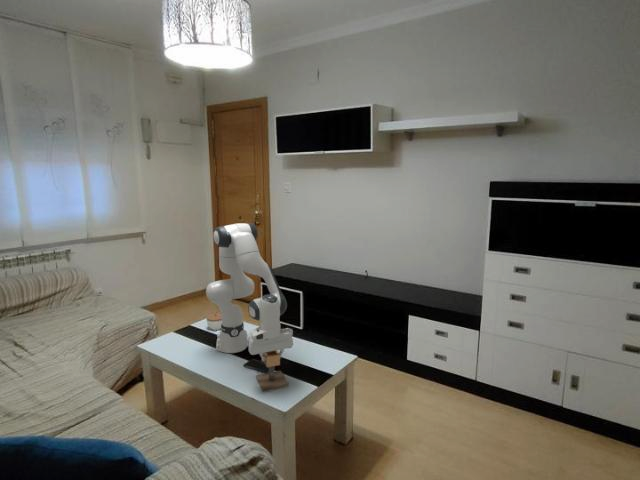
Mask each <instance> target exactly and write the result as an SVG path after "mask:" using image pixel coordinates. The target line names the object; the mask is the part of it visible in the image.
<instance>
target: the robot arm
mask: <svg viewBox="0 0 640 480" xmlns="http://www.w3.org/2000/svg"><path fill="white" fill-rule="evenodd" d="M258 235H259V233H258V228H257V226H256V225H255V224H254V223H252V222H243V223H242V222H241V223H233V224H227V225H221V226H218V227H215V229H214V230H213V241H214V243H215V245H216V246H217V247H218V261H219V263H218V264H219V269H220V271H221V272H222V273H224V274H227V275H229V276H230V278H227V279H220V280H216V281H213V282H209V283H208V285H207V286H206V290H205V295H206V298H207V299H208V300H209V302H212V303H214V304H215V305H216V306H217V307H218V308H219V311H220V313H221V318H222V324H221V329H220V332H219V334H216V337H217V339H216V344H215V345H216V347H215V351H216V352H223V353H226V354H235V353H241V352H243V351H245V350H246V349H247V348H248V352H249V354H250V355H252V356H255V355H259V357H260V358H261V361H262V362H264V361H266V360H265V359H266V358H265V356H264V355H263V353H265V352H270V351H276V350H277V351H278V353H279V354H280V359H282V355H283V353H284V352H285V351H284V349H290V348H293V346H294V340H293V339H294V338H293V335H294V331H293V329H292V328H290V327H286V328H281V321H280V317H281V316H282V315H284V313H285V312H286V310H287V308H288V301H287V300H286V296H285V295H284V294H283V292H282V291H281V288H280V285H279V283H278V281H277V279H276V276H275V274H274V272H273V270H272V268H271V265H270V264H269V263H268V262H266V261H264V259H263V258H262V256H261V254H260V249H259V247H258V243H257V241H256V240H257V239H258ZM247 274H250V275H255V276H257V277H261V278H262V279H263V280H264V282H265V284H266V287H267V290H268V292H269V293H268V294H264V295H262V296H261V297H257V298H254V299H252V300H250V302H249V304H248V306H247V307H248V311H247V312H248V315H249V317H250V318H251V319H253V320H255V321H260V326H258V327H256V328H254V329H252V330H251V331H250V337H249V339H248V332H247V330H246V329H244V328H245V326H244V325H245V323H244V321H243V319H244V318H243V309H242V307H241V306H240V305H238V304H235V303H232V300H236V299H237V300H238V299H242V298H246V297H249V296H252V295H253V293H254V291H255V288H256V287H255V282H254V280H253V279H252V278H250V277H249V276H247Z"/></svg>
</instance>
